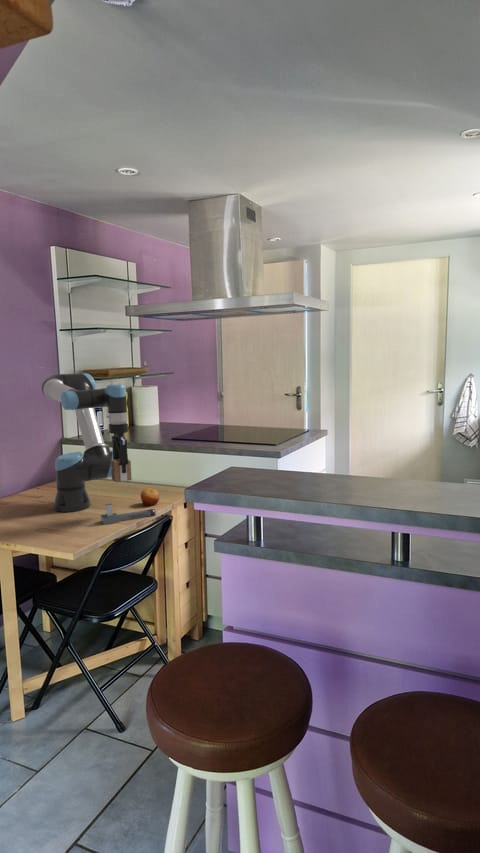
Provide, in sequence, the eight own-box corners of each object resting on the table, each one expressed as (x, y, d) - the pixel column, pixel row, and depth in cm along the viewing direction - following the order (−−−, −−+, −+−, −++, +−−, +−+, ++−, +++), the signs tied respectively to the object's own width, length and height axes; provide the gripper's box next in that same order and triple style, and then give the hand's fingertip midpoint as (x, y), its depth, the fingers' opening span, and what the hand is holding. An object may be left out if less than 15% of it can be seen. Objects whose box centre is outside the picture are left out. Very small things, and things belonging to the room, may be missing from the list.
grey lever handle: (100, 521, 214) (99, 504, 213) (153, 512, 223) (152, 496, 222) (103, 524, 209) (102, 507, 208) (157, 516, 218) (156, 499, 217)
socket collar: (111, 479, 221) (110, 460, 220) (127, 477, 224) (125, 458, 223) (116, 482, 216) (114, 462, 215) (131, 480, 219) (130, 460, 218)
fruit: (149, 496, 243) (154, 483, 239) (159, 508, 239) (164, 494, 235) (134, 500, 237) (139, 486, 233) (143, 512, 233) (148, 498, 229)
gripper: (102, 421, 224) (106, 475, 227) (115, 426, 207) (118, 485, 210) (120, 419, 227) (123, 473, 230) (134, 424, 210) (137, 482, 213)
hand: (121, 478), depth 220 cm, fingers closed on socket collar, 6 cm apart
